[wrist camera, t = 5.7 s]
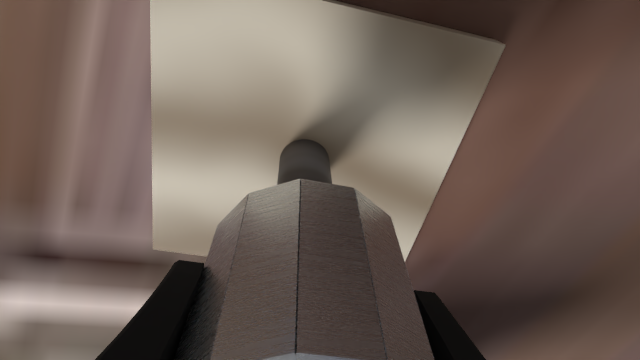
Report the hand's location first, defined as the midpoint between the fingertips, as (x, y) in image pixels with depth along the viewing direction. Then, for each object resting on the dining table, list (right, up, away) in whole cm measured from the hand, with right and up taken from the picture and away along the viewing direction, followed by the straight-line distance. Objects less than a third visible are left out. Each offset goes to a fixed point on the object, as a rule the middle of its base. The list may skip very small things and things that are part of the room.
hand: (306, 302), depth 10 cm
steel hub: (0, +1, +1) cm, 2 cm away
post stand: (0, +5, +7) cm, 9 cm away
